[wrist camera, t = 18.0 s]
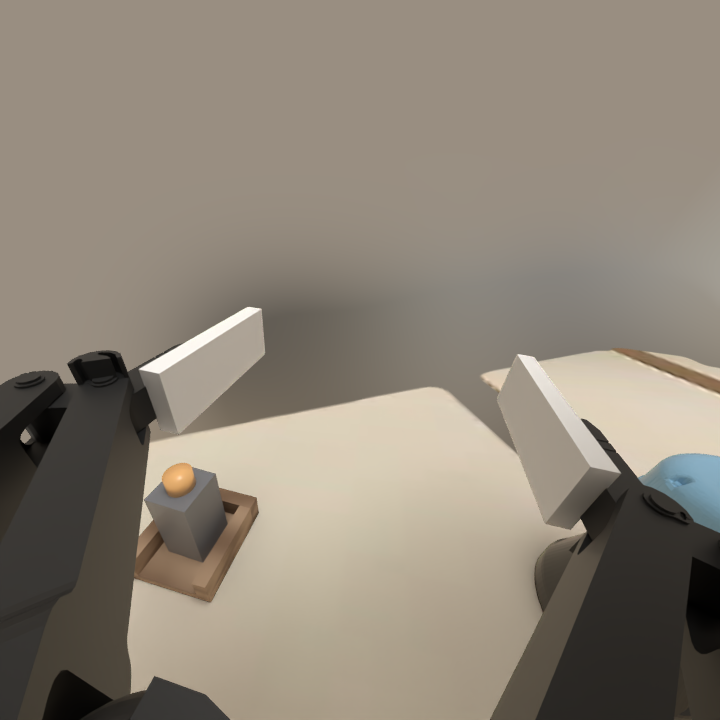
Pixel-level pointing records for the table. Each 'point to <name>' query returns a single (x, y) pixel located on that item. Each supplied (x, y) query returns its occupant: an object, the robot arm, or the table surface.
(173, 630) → the table surface
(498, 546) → the table surface
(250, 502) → the holder
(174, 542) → the connector plug
